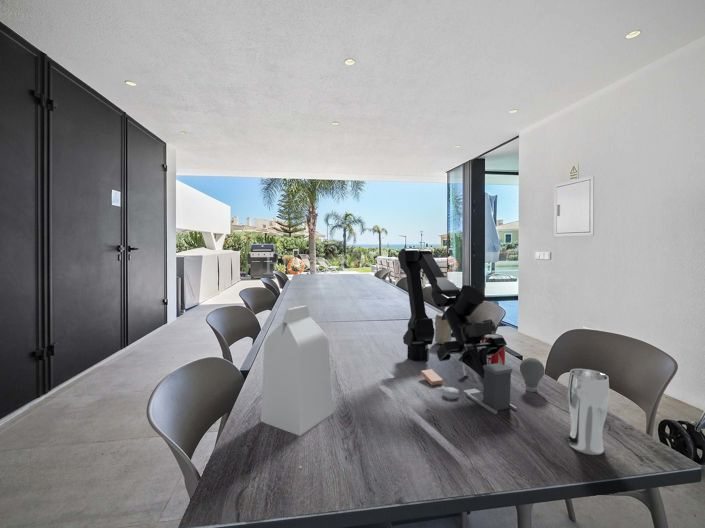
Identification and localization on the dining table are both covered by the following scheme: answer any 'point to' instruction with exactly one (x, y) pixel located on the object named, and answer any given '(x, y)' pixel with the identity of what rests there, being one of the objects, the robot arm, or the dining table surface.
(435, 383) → the rocker
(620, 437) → the dining table surface
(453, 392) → the panel
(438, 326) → the carving
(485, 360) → the robot arm
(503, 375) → the grey lidded box
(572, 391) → the beer glass
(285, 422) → the milk
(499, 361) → the soda can
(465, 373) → the lever
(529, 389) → the light bulb
